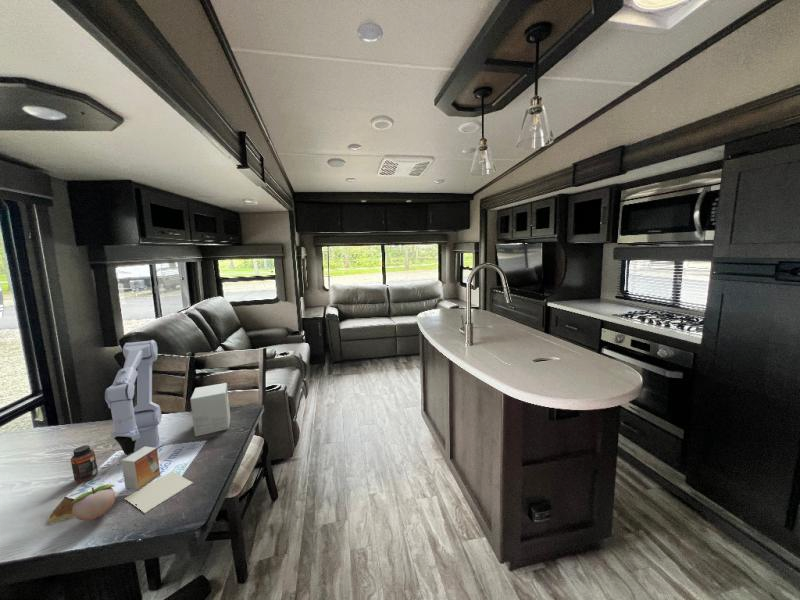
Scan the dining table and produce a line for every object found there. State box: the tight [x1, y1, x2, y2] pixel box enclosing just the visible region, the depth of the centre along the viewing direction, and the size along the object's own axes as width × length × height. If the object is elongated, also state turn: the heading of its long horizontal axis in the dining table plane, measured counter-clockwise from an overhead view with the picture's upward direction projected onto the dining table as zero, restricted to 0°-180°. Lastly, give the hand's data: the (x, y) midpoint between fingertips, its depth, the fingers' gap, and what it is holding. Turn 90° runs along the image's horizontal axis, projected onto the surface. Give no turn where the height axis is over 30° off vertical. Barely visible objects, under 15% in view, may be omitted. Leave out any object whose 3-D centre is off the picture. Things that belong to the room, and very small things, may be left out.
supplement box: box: [190, 382, 231, 437], centre depth 141 cm, size 13×13×18 cm
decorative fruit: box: [71, 484, 116, 522], centre depth 92 cm, size 9×8×10 cm
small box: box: [120, 446, 161, 491], centre depth 107 cm, size 8×6×10 cm
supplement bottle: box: [70, 444, 99, 483], centre depth 109 cm, size 6×6×11 cm
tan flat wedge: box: [46, 496, 75, 525], centre depth 97 cm, size 11×8×2 cm
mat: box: [123, 471, 194, 514], centre depth 103 cm, size 13×14×1 cm
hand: (129, 453), depth 110 cm, fingers closed
